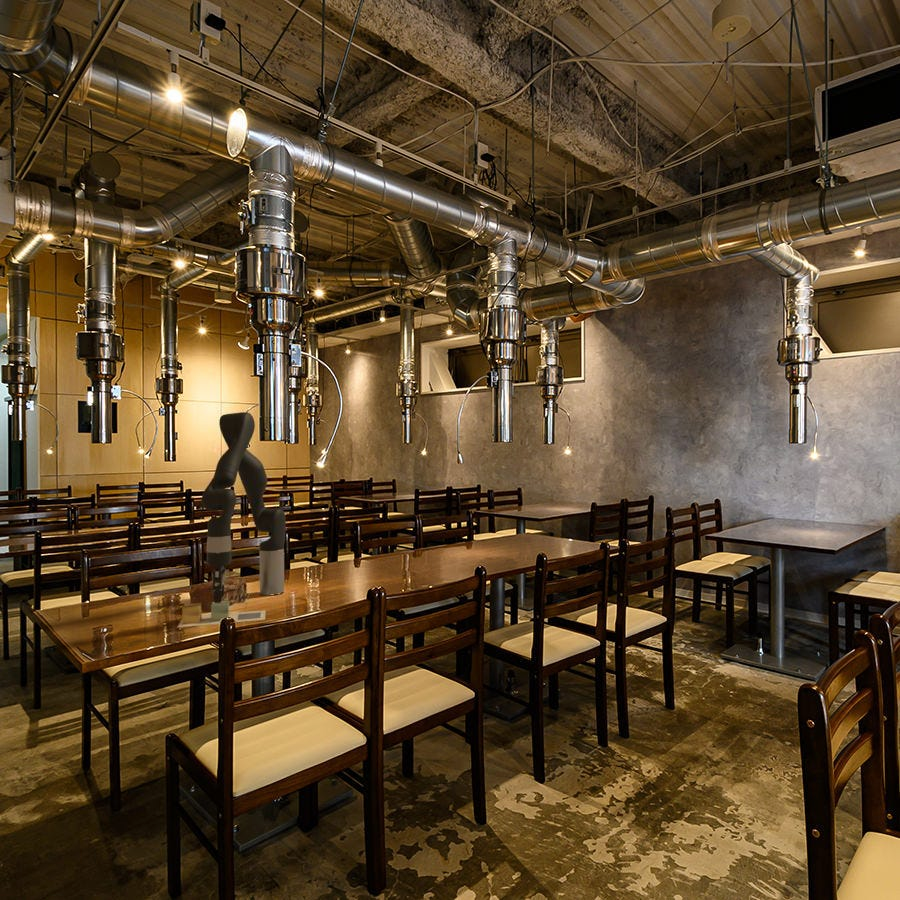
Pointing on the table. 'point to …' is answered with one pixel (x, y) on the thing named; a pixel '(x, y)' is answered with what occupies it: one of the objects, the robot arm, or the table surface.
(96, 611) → the table surface
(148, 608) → the table surface
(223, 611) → the green block
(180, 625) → the blueprint board
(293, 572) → the table surface
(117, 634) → the table surface
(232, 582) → the bread
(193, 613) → the ochre block
